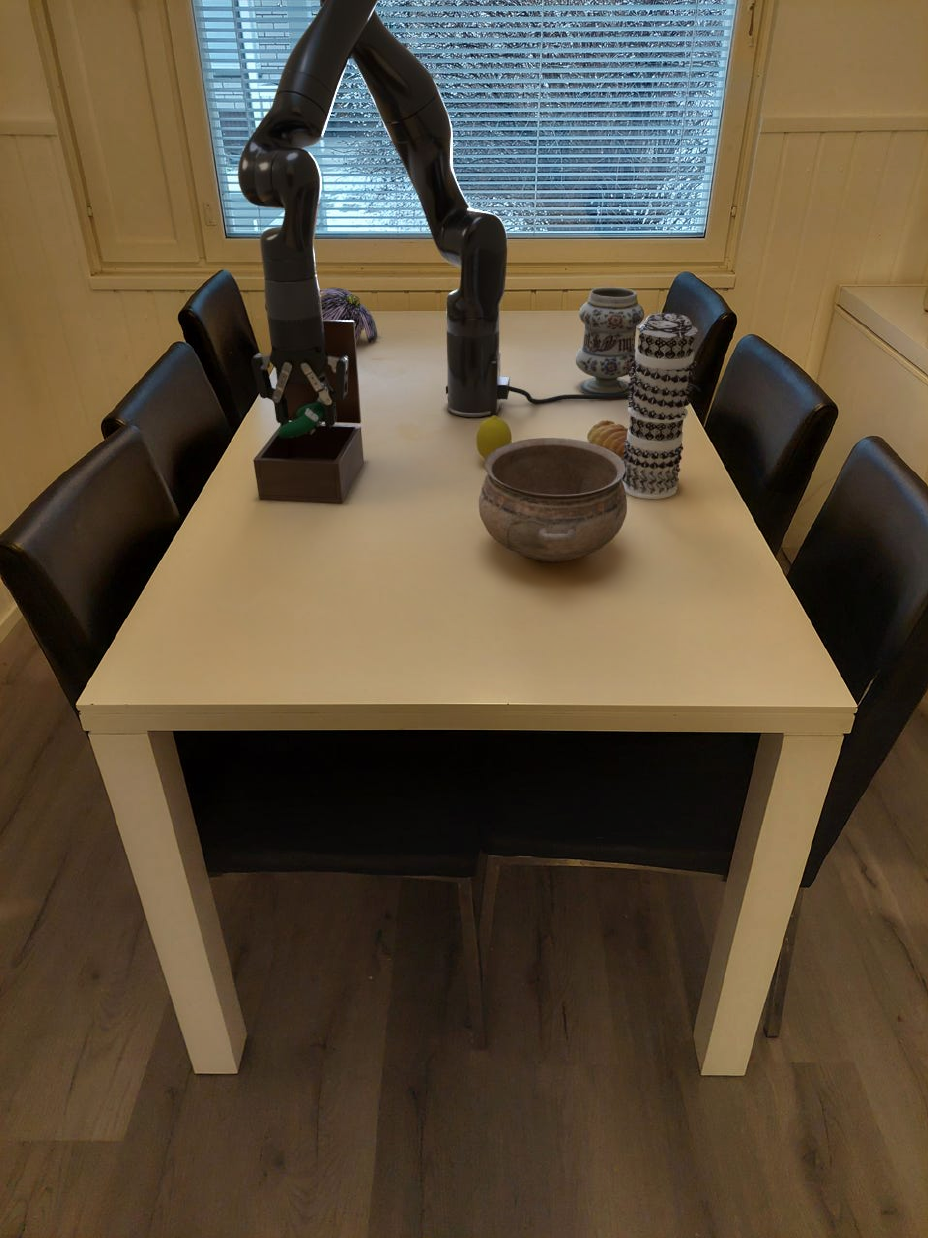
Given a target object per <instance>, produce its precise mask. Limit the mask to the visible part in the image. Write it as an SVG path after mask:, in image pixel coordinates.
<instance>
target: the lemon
mask: <svg viewBox="0 0 928 1238" xmlns="http://www.w3.org/2000/svg"><path fill="white" fill-rule="evenodd" d="M476 432H477V433H476V439H475V440H476V441H475V442H476V449H477V451H478V454H479V455H480V456H481V457H482V458H483V459H484V460H485V461H486V458H487V457H488V456H489V454H491V453H492V452H493V451H494V450H496V449H498V448H500V447H502V446H504V445H507V444H510V443H513V442H512V441H513V437H512V431H511V427H510V426H509V424H508V423H507V421H506V420H504V419H502V417H498V416H497V415H491V417H488V418H486V419H484V420H483V421H482V422H481V423H480V424H479V427H478V429H477V431H476Z"/></svg>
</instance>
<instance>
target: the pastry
mask: <svg viewBox="0 0 928 1238" xmlns="http://www.w3.org/2000/svg"><path fill="white" fill-rule="evenodd" d="M628 429H629V427H628V428H627V427H625V426H624V425H623V424H620V423H615V422H614V421H611V420H608V419H606V420H601V421H599V422H598V423H596V424H594V425H593V426H592V427H591V428H590V430H589V432H588V433H587V442H588V443H592V444H596V445H598V446H601V447H604V448H606V449H608V450H610V451H612V452H613V453H615V454H616V455H617V456H619V457H620V459H621V460H625V458H624V454H623V452H624V451H625V450H626V448H625V444H624V442H625V441H626V440H627V432H628Z"/></svg>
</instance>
